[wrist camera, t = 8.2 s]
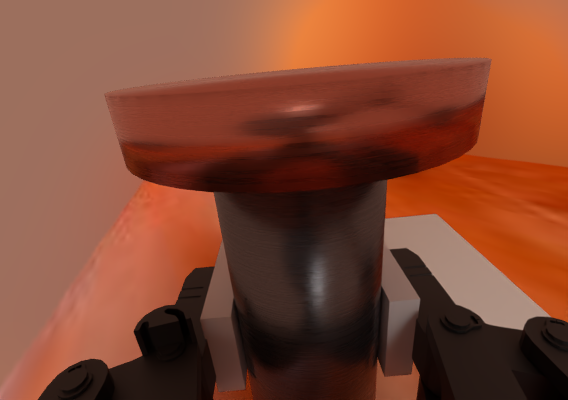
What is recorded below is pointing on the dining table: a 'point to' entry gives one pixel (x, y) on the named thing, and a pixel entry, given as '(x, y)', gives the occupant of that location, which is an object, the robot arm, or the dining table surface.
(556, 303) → the dining table surface
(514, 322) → the pad
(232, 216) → the hook
